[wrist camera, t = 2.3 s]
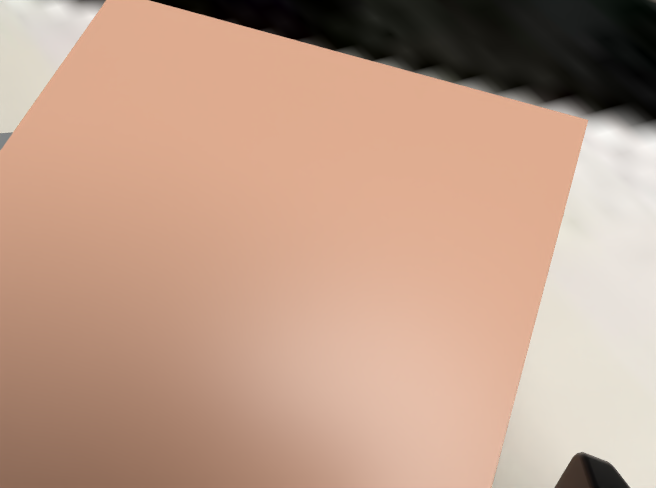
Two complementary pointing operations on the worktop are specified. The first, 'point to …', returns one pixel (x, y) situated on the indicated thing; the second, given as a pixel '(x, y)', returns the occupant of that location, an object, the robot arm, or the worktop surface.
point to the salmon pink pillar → (266, 264)
